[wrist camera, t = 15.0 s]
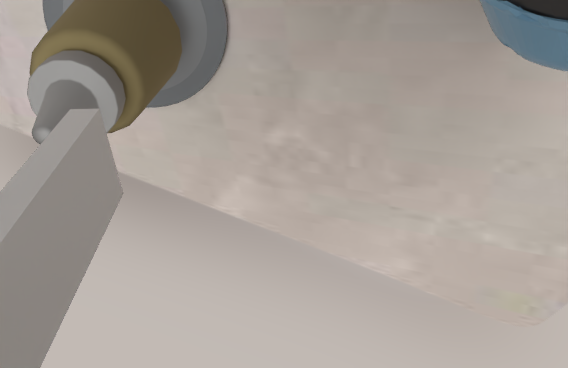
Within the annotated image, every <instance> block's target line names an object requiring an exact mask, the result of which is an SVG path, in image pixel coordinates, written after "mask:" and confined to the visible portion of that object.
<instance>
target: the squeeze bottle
mask: <svg viewBox="0 0 568 368" xmlns="http://www.w3.org/2000/svg"><path fill="white" fill-rule="evenodd" d="M181 54H182V45H181V37H180V29H179V27H178V25H177V24H176V22H175V20H174V18H173V16H172V14H171V12H170V10H169V8H168V7H167V6H166V5H164V4H163V3H162V2H161V1H160V0H74V2H73V3H72V4H71V5H70V6H69V7H68V9H67V10H66V11H65V12H64V13H63V14H62V16H61V17H60V18H59V19H58V20H57V21H56V23H55V24H54V25H53V26H52V27H51V28H50V30H49V31H48V32H47V33H46V34H45V35H44V37H43V38H42V39H41V41H40V42H39V44H38V45H37V46H36V48H35V49H34V51H33V52H32V57H31V65H30V76H31V77H30V78H29V83H28V91H27V95H28V98H29V101H30V105H31V108H32V110H33V112H34V113H35V114H36V115H37V118H36V121H35V123H34V126H33V129H32V136H33V138H34V140H35V141H36V142H37V143H39V144H41V143H42V142H43V141H44V140H45V138H46V137H47V136H48V135H49V134H50V132H51V131H52V130H53V129H54V128H55V127H56V125H57V124H58V123H59V122H60V121H61V120H62V118H63V117H64V116H65V115H66V114H67V112H68V111H69V110H70V109H100V113H101V116H102V120H103V123H104V127H105V130H106V134H107V133H112V132H115V131H117V130H120V129H122V128H125V127H127V126H130V124H131V123H132V122H133V121H134V120H135V119H136V118H137V117H138V116H139V115H140V114H141V112H142V111H143V110H144V109H145V108H146V107H147V105H148V104H149V103H150V102H151V101H152V99H153V98H154V97H155V96H156V95H157V93H158V92H159V91H160V90H161V89H162V87H163V86H164V85H165V84H166V83H167V81H168V80H169V79H170V78H171V77H172V75H173V74H174V73H175V72H176V70H177V67H178V64H179V61H180V57H181Z"/></svg>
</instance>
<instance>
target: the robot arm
mask: <svg viewBox="0 0 568 368" xmlns="http://www.w3.org/2000/svg"><path fill="white" fill-rule="evenodd" d="M480 2H481V5H482V7H483V9H484V12H485V14H486V17H487V19H488V21H489V24H490V26H491V28H492V30H493V32H494V34H495V35H496V36H497V37H498V39H499V40H500V41H501V42H502V43H503V44H504V45H506V46H508V47H510V48H511V49H513V50H514V51H515V52H516V53H517V54H518V55H520V56H522V57H523V58H524V59H526V60H528V61H531V62H534V63H536V64H539V65H542V66H545V67H549V68H553V69H557V70H562V71H568V0H480ZM122 195H123V190H122V187H121V183H120V180H119V177H118V172H117V169H116V165H115V162H114V158H113V155H112V151H111V148H110V144H109V141H108V137H107V134H106V130H105V127H104V123H103V120H102V116H101V113H100V109H70V110H69V111H68V112H67V114H66V115H65V116H64V117H63V118H62V120H61V121H60V122H59V123H58V124H57V125H56V127H55V128H54V129H53V130H52V131H51V132H50V134H49V135H48V136H47V137H46V138H45V140H44V141H43V142H42V143H41V144H40V146H39V147H38V148H37V149H36V150H35V151H34V153H33V154H32V155H31V156H30V157H29V158H28V160H27V161H26V162H25V163H24V164H23V166H22V167H21V168H20V169H19V170H18V171H17V173H16V174H15V175H14V176H13V177H12V178H11V180H10V181H9V182H8V183H7V184H6V186H5V187H4V188H3V189H2V190H1V191H0V368H40V367H41V365H42V362H43V360H44V358H45V356H46V354H47V352H48V350H49V348H50V346H51V344H52V341H53V339H54V337H55V335H56V333H57V331H58V329H59V327H60V325H61V323H62V321H63V319H64V316H65V314H66V312H67V310H68V308H69V306H70V304H71V302H72V300H73V298H74V296H75V293H76V291H77V289H78V287H79V285H80V283H81V281H82V278H83V277H84V275H85V273H86V270H87V268H88V266H89V264H90V262H91V260H92V258H93V256H94V254H95V252H96V250H97V247H98V245H99V243H100V241H101V239H102V237H103V235H104V233H105V231H106V229H107V227H108V224H109V222H110V220H111V218H112V216H113V214H114V212H115V210H116V208H117V206H118V203H119V201H120V199H121V197H122Z"/></svg>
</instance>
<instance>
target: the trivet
mask: <svg viewBox="0 0 568 368" xmlns="http://www.w3.org/2000/svg"><path fill="white" fill-rule="evenodd" d="M160 1H161V2H162V3H163V4H164V5H166V6H167V7H168V8H169V10H170V12H171V14H172V16H173V18H174V20H175V22H176V24H177V25H178V27H179V29H180V37H181V45H182V54H181V57H180V61H179V64H178V67H177V70H176V72H175V73H174V74H173V75H172V77H171V78H170V79H169V80H168V81H167V83H166V84H165V85H164V86H163V87H162V89H161V90H160V91H159V92H158V93H157V95H156V96H155V97H154V98H153V99H152V101H151V102H150V103H149V104H148V105H147V107H163V106H168V105H172V104H176V103H179V102H181V101H183V100H186V99H188V98H189V97H191V96H193V95H194V94H196V93H197V92H198V91H200V90H201V89H202V88H203V87H204V86H205V85H206V84H207V83H208V82H209V81H210V79H211V78H212V76H213V75H214V74H215V72H216V70H217V68H218V66H219V64H220V62H221V59H222V56H223V53H224V49H225V44H226V39H227V15H226V10H225V5H224V1H223V0H160ZM73 2H74V0H43V11H44V18H45V22H46V26H47V29H48V31H49V30H50V28H51V27H52V26H53V25H54V24H55V23H56V21H57V20H58V19H59V18H60V17H61V16H62V14H63V13H64V12H65V11H66V10H67V9H68V7H69V6H70V5H71V4H72V3H73Z"/></svg>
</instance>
